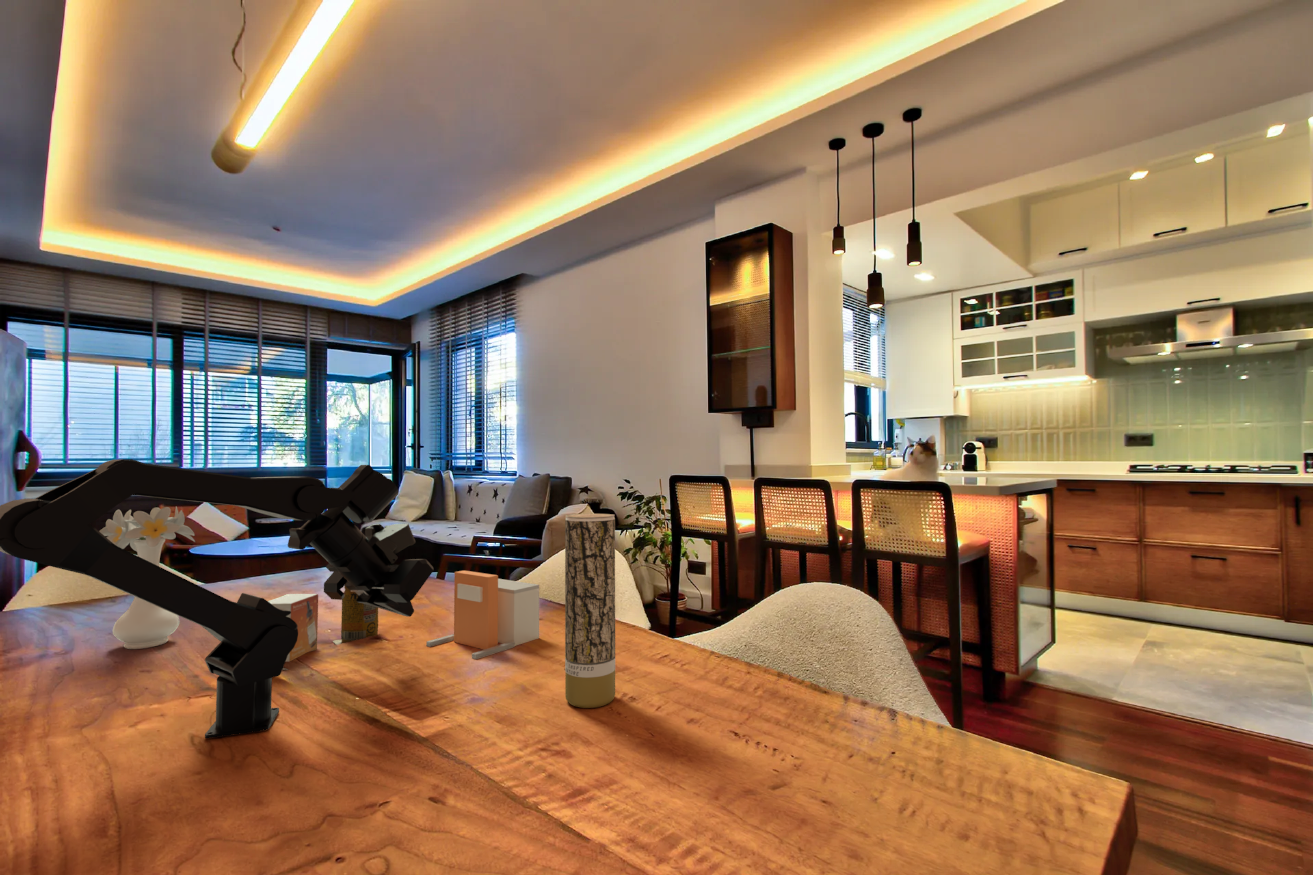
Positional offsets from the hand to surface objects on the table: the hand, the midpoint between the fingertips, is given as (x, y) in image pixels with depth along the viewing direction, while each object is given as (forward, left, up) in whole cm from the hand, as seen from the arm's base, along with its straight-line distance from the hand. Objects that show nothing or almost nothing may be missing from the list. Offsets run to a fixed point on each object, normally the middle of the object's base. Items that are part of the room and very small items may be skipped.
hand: (411, 613), depth 95 cm
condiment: (+21, +9, -9) cm, 25 cm away
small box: (+13, +19, -9) cm, 25 cm away
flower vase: (+35, +46, -9) cm, 59 cm away
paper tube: (-21, -23, -9) cm, 32 cm away
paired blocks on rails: (+7, -10, -9) cm, 15 cm away
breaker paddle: (+7, -10, -8) cm, 14 cm away
